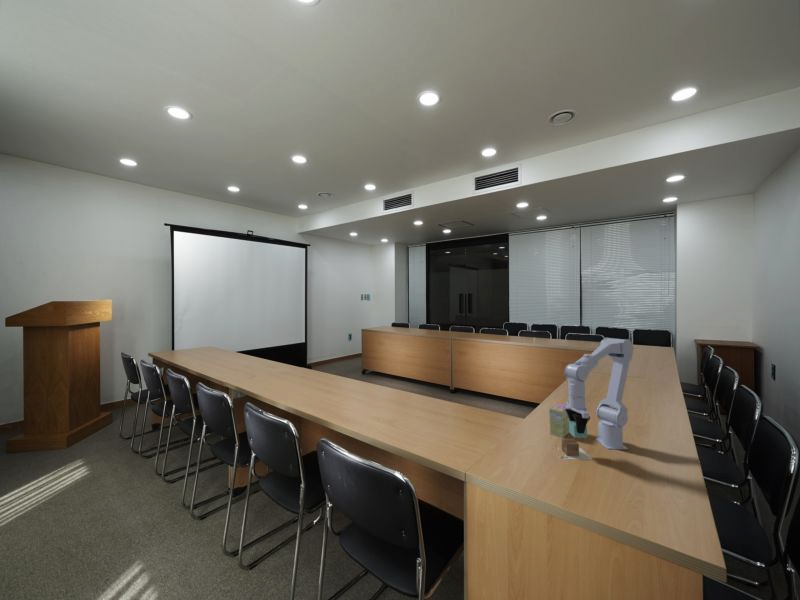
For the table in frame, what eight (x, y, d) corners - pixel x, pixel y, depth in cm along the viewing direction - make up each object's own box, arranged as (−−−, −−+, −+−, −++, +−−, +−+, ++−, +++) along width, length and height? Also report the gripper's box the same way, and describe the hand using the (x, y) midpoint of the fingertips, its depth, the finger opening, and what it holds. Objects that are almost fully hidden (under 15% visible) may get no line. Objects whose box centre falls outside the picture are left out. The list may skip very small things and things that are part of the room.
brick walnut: (561, 450, 129) (561, 438, 129) (573, 450, 129) (573, 438, 129) (566, 455, 125) (566, 443, 125) (579, 456, 124) (578, 444, 124)
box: (558, 428, 152) (557, 403, 152) (571, 431, 148) (570, 405, 148) (549, 434, 145) (548, 408, 145) (562, 438, 141) (562, 411, 141)
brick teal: (569, 432, 128) (568, 421, 128) (581, 432, 128) (581, 421, 128) (574, 437, 123) (574, 425, 123) (587, 437, 123) (586, 425, 123)
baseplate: (549, 447, 132) (549, 446, 132) (580, 448, 131) (580, 447, 131) (559, 459, 122) (559, 458, 122) (592, 460, 121) (592, 459, 121)
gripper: (558, 390, 133) (559, 423, 133) (574, 401, 119) (575, 437, 119) (576, 390, 133) (577, 423, 133) (594, 401, 118) (595, 438, 118)
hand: (577, 430), depth 126 cm, fingers closed on brick teal, 5 cm apart
